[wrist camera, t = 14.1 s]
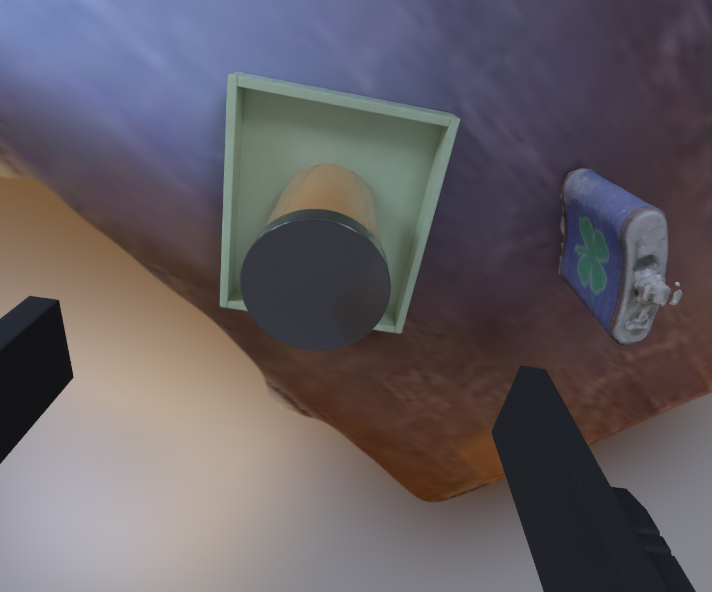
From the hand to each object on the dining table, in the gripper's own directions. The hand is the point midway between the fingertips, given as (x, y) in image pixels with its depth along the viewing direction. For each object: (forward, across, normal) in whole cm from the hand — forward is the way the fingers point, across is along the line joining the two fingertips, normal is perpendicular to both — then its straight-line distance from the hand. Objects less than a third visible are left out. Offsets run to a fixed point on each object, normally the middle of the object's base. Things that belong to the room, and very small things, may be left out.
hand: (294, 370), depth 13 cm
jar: (+21, 0, -3) cm, 21 cm away
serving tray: (+21, 0, -3) cm, 22 cm away
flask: (+22, +19, -1) cm, 29 cm away
